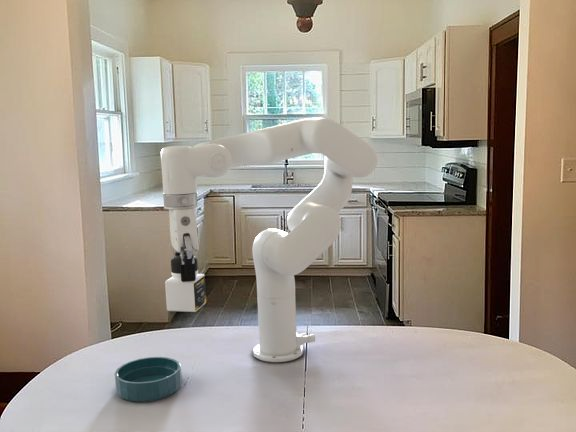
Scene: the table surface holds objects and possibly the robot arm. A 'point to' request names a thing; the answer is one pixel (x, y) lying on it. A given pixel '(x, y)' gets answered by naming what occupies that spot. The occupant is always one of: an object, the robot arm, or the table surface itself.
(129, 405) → the table surface
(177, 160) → the robot arm
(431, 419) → the table surface
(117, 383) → the dish
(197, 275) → the medicine bottle
